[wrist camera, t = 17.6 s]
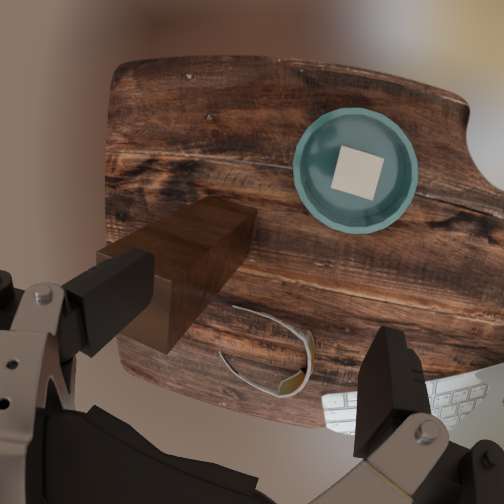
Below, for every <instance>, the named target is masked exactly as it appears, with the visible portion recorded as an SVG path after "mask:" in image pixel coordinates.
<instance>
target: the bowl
mask: <svg viewBox="0 0 504 504" xmlns="http://www.w3.org/2000/svg"><path fill="white" fill-rule="evenodd" d="M341 145H344V146H347V147H351V148H354V149H357V150H361V151H364V152H367V153H370V154H374V155H377V156H379V157H382V158H384V162H383V166H382V169H381V173H380V177H379V180H378V184H377V187H376V191H375V194H374V198H373V201H372V200H369V199H365V198H362V197H359V196H356V195H353V194H349V193H346V192H343V191H339V190H336V189H333V188H331V184H332V180H333V177H334V173H335V169H336V165H337V161H338V157H339V153H340V149H341ZM293 176H294V184H295V187H296V189H297V192H298V194H299V197H300V199H301V201H302V203H303V204H304V205H305V207H306V208H307V209H308V210H309V211H310V213H311V214H312V215H313V216H314V217H315V218H316V219H318V220H319V221H321V222H322V223H324V224H325V225H326V226H328V227H329V228H332V229H335V230H338V231H341V232H344V233H348V234H369V233H372V232H375V231H378V230H381V229H384V228H387V227H388V226H389V225H391V224H392V223H393V222H395V221H396V220H397V219H399V218H400V217H401V216H402V215H403V214H404V212H405V211H406V209H407V208H408V207H409V205H410V204H411V202H412V200H413V198H414V195H415V191H416V188H417V185H418V161H417V158H416V155H415V152H414V149H413V146H412V143H411V141H410V140H409V139H408V137H407V136H406V135H405V133H404V132H403V131H402V129H401V128H400V127H399V126H398V125H397V124H396V123H394V122H393V121H392V120H390V119H389V118H387V117H386V116H384V115H383V114H381V113H378V112H375V111H372V110H368V109H365V108H340V109H337V110H335V111H332V112H329V113H326V114H324V115H322V116H321V117H320V118H318V119H317V120H316V121H315V122H313V123H312V124H311V125H310V126H309V127H308V128H307V129H306V131H305V132H304V134H303V135H302V137H301V139H300V140H299V142H298V145H297V146H296V151H295V155H294V159H293Z"/></svg>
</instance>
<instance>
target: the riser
mask: <svg viewBox="0 0 504 504" xmlns="http://www.w3.org/2000/svg"><path fill="white" fill-rule="evenodd" d="M256 213H257V209H254V208H250V207H246V206H243V205H239V204H235V203H232V202H228V201H224V200H221V199H217V198H213V197H209V196H208V197H206V198H204V199H201V200H199V201H197V202H195V203H193V204H191V205H188V206H186V207H184V208H182V209H180V210H178V211H176V212H174V213H172V214H169V215H167V216H165V217H163V218H161V219H159V220H157V221H155V222H153V223H151V224H149V225H147V226H145V227H143V228H141V229H139V230H137V231H135V232H133V233H131V234H129V235H127V236H125V237H123V238H121V239H119V240H117V241H115V242H114V243H112V244H110V245H108V246H106V247H104V248H102V249H100V250H99V251H97V252H96V261H97V262H96V263H97V264H99V263H100V262H102V261H104V260H106V259H109V258H113V257H117V256H120V255H121V254H123V253H125V252H127V251H128V250H130V249H132V248H137V249H140V250H143V251H146V252H149V253H152V254H153V255H154V258H155V266H154V288H153V296H152V300H151V302H150V304H149V305H148V307H147V308H146V309H145V310H144V311H142V312H141V313H140V314H139V315H138V316H137V317H136V318H135V319H134V320H132V321H131V322H130V323H129V324H128V325H127V326H126V327H125V328H124V329H123V330H121V331H120V332H119V333H121V334H123V335H125V336H127V337H129V338H131V339H134V340H136V341H138V342H140V343H142V344H144V345H146V346H148V347H150V348H153V349H155V350H157V351H159V352H161V353H164V354H166V355H167V354H168V353H169V352H170V351H171V349H172V348H173V347H174V346H175V344H176V343H177V342H178V341H179V340H180V338H181V337H182V336H183V335H184V333H185V332H186V331H187V330H188V329H189V327H190V326H191V325H192V324H193V322H194V321H195V320H196V319H197V318H198V316H199V315H200V314H201V313H202V311H203V310H204V309H205V308H206V307H207V305H208V304H209V303H210V302H211V301H212V299H213V298H214V297H215V296H216V294H217V293H218V292H219V291H220V290H221V288H222V287H223V286H224V285H225V283H226V282H227V281H228V280H229V279H230V277H231V276H232V275H233V274H234V272H235V271H236V270H237V269H238V268H239V266H240V265H241V264H242V263H243V261H244V260H245V259H246V258H247V255H248V250H249V245H250V241H251V236H252V232H253V227H254V222H255V218H256Z"/></svg>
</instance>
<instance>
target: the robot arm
mask: <svg viewBox="0 0 504 504" xmlns="http://www.w3.org/2000/svg"><path fill="white" fill-rule="evenodd" d="M154 266H155V258H154V255H153V254H152V253H149V252H146V251H143V250H140V249H137V248H132V249H130V250H128V251H127V252H125V253H123V254H121V255H120V256H117V257H113V258H109V259H106V260H104V261H102V262H100V263H99V264H97V265H96V266H95V267H92V268H90V269H88V271H85V272H84V273H82V274H80V275H78V276H77V277H75V278H73V279H72V280H70V281H69V282H67V283H66V284H64V285H62V286H59V285H57V284H54V283H39V284H35V285H33V286H31V287H29V288H28V289H27V290H26V291H25V290H21V289H17V288H14V287H13V283H12V277H11V275H10V274H9V273H8V272H6V271H1V270H0V504H277V503H275V502H274V501H273V500H272V499H271V498H269V497H268V496H266V495H265V494H263V493H261V492H260V491H258V490H256V489H255V488H256V485H257V482H258V479H259V478H257V477H253V476H250V475H247V474H244V473H241V472H238V471H235V470H232V469H229V468H226V467H223V466H220V465H218V464H215V463H210V462H204V461H198V460H193V459H187V458H182V457H177V456H173V455H168V454H165V453H163V452H161V451H160V450H159V449H158V448H156V447H155V446H154V445H153V444H151V443H150V442H149V441H148V440H146V439H145V438H144V437H143V436H142V435H140V434H139V433H138V432H137V431H136V430H135V429H133V428H132V427H131V426H130V425H129V424H127V423H125V422H123V421H122V420H120V419H118V418H116V417H114V416H113V415H111V414H109V413H108V412H106V411H104V410H103V409H101V408H99V407H97V406H96V405H94V406H93V407H92V408H91V409H90V410H89V411H88V412H87V413H84V412H80V411H76V410H75V405H74V393H75V392H74V391H75V374H76V356H75V354H77V353H78V352H79V351H81V352H83V353H84V354H86V355H88V356H89V357H91V358H92V357H93V356H94V355H95V354H96V353H97V352H99V351H100V350H101V349H102V348H103V347H104V346H105V345H106V344H107V343H108V342H109V341H110V340H112V339H113V338H114V337H115V336H116V335H117V334H118V333H119V332H120V331H121V330H123V329H124V328H125V327H126V326H127V325H128V324H129V323H130V322H131V321H132V320H134V319H135V318H136V317H137V316H138V315H139V314H140V313H141V312H142V311H144V310H145V309H146V308H147V307H148V305H149V304H150V302H151V300H152V296H153V288H154ZM353 456H354V457H358V458H363V459H364V460H362V461H361V462H360V463H359V464H358V465H357V466H355V467H354V468H353V469H352V470H351V471H350V472H348V473H347V474H346V475H345V476H344V477H342V478H341V479H340V480H339V481H337V482H336V483H335V484H334V485H332V486H331V487H330V488H329V489H327V490H326V491H325V492H323V493H322V494H321V495H319V496H318V497H317V498H315V499H314V500H313V501H311V502H310V503H308V504H504V451H503V450H502V448H501V447H500V446H499V445H498V444H496V443H495V442H493V441H491V440H480V441H478V442H477V443H476V444H475V445H474V446H473V447H472V448H471V449H468V448H465V447H463V446H460V445H458V444H456V443H453V442H451V441H449V434H448V431H447V429H446V427H445V425H444V424H443V423H442V422H441V421H440V420H439V419H438V418H436V417H435V416H433V415H431V409H430V403H429V398H428V393H427V388H426V384H425V378H424V374H423V369H422V365H421V361H420V359H419V358H418V356H417V355H416V353H415V352H414V350H413V349H409V348H407V344H406V340H405V335H404V332H403V331H400V330H396V329H393V328H389V327H385V326H381V327H380V329H379V330H378V332H377V334H376V336H375V338H374V340H373V342H372V344H371V346H370V348H369V350H368V352H367V354H366V356H365V358H364V360H363V362H362V365H361V367H360V371H359V375H358V392H357V414H356V430H355V443H354V454H353Z"/></svg>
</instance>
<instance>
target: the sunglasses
mask: <svg viewBox="0 0 504 504" xmlns="http://www.w3.org/2000/svg"><path fill="white" fill-rule="evenodd" d="M232 307H235V308H239V309H243V310H247V311H250V312H253V313H256V314H259V315H262V316H265V317H268V318H270V319H272V320H274V321H276V322H278V323H280V324H281V325H283V326H285V327H286V328H288V329H289V330H290V331H291V332H293V333H294V334H295V335H296V336H297V337H299V338H300V339H301V340H302V341H303V342H304V345H305V348H306V351H307V355H308V358H307V359H306V366H307V369H306V368H301V370H300V371H299V372H298V373H296V374H295V375H293V376H291V377H289V378H287V379H284V380H282V381H281V382H280V385H279V387H278V390H277V391H276V390H273V389H271V388H268V387H263V386H259V385H257V384H255V383H253V382H252V381H250V380H249V379H247V378H246V377H245V376H243V375H241V374H240V373H238V372H237V371H236V370H235V369H234V368H233V367H232V366H231V365H230V363H229V362H228V360H227V359H226V357H225V356H224V354H223V353H222V352H221V351H219V354H220V355H221V357H222V359H223V360H224V362H225V363H226V365H227V366H228V367H229V368H230V370H231V371H232V372H233V373H234V374H235V375H236V376H238V377H239V378H241V379H242V380H244V381H246V382H247V383H249V384H250V385H252V386H254V387H256V388H257V389H259V390H261V391H264V392H266V393H269V394H271V395H274V396H277V397H279V398H284V397H290V396H293V395H295V394H297V393H298V392H299V391H301V390H302V389H303V388H304V387H305V385H306V383H307V382H308V379H309V377H310V375H311V374H312V372H313V366H314V358H315V344H314V339H313V336H312V334H311V332H310V330H306V335H305V334H303V333H302V332H301V331H300V330H299V329H297V328H296V327H293V326H291V325H289V324H287V323H285V322H283V321H281V320H279V319H278V318H276V317H274V316H272V315H270V314H267V313H264V312H261V311H258V310H255V309H252V308H248V307H244V306H239V305H233V306H232Z"/></svg>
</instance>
